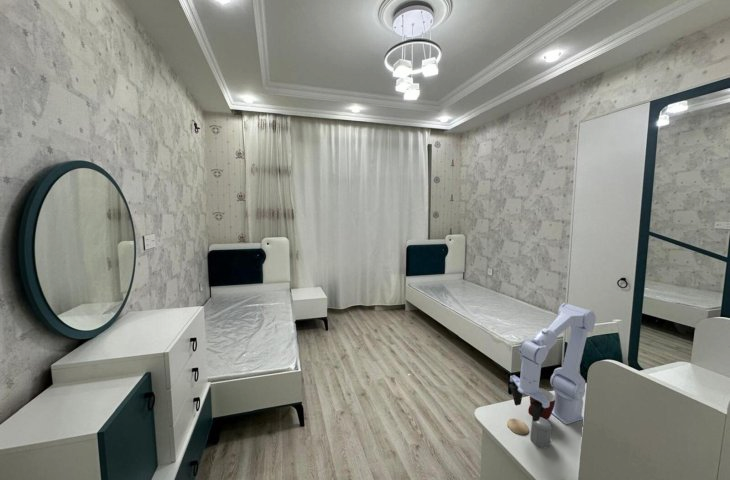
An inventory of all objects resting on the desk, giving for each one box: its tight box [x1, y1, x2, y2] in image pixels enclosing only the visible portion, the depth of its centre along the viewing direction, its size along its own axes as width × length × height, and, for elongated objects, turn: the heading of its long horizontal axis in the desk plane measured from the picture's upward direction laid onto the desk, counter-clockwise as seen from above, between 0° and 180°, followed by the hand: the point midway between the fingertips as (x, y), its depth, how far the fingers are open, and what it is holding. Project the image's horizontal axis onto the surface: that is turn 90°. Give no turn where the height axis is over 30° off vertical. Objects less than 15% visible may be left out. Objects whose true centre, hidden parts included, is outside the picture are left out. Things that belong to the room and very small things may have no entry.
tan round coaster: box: [506, 418, 530, 436], centre depth 106 cm, size 7×7×1 cm
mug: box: [527, 387, 555, 421], centre depth 109 cm, size 10×8×10 cm
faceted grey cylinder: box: [529, 417, 552, 449], centre depth 100 cm, size 6×6×7 cm
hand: (526, 412), depth 100 cm, fingers open, 7 cm apart
